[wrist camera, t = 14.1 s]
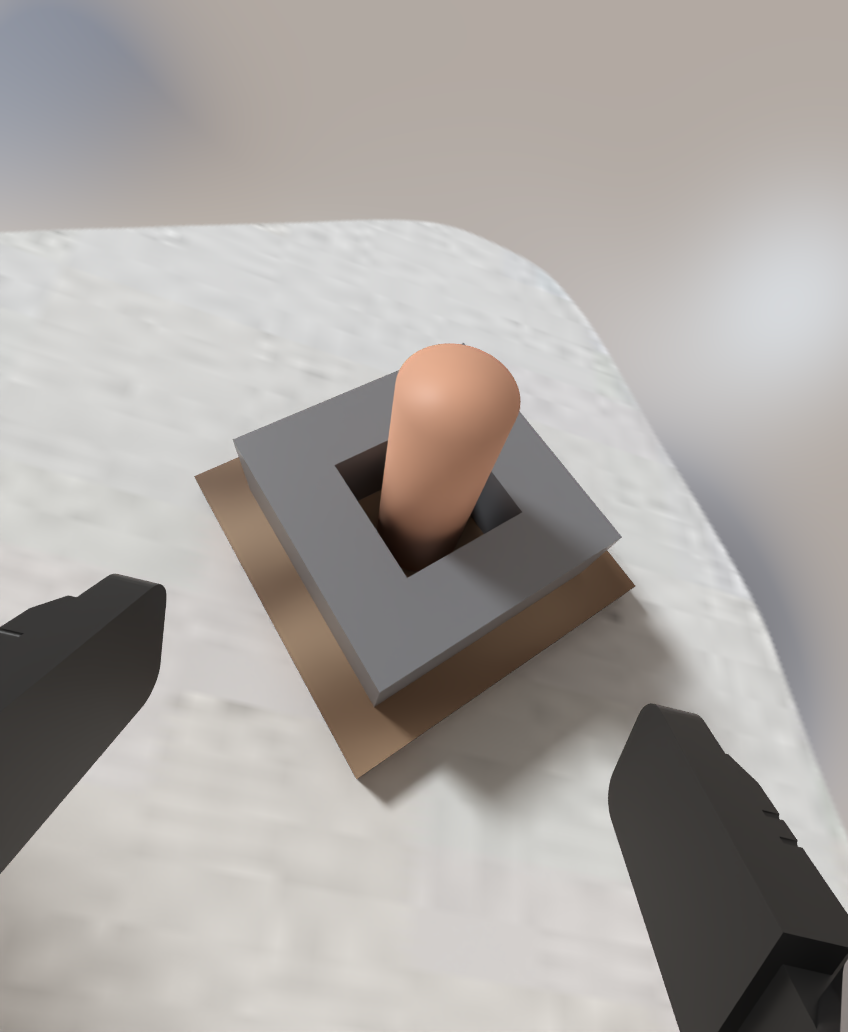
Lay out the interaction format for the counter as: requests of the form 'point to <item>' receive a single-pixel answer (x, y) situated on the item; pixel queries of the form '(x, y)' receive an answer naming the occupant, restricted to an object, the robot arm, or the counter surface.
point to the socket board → (323, 663)
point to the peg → (442, 448)
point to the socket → (370, 565)
